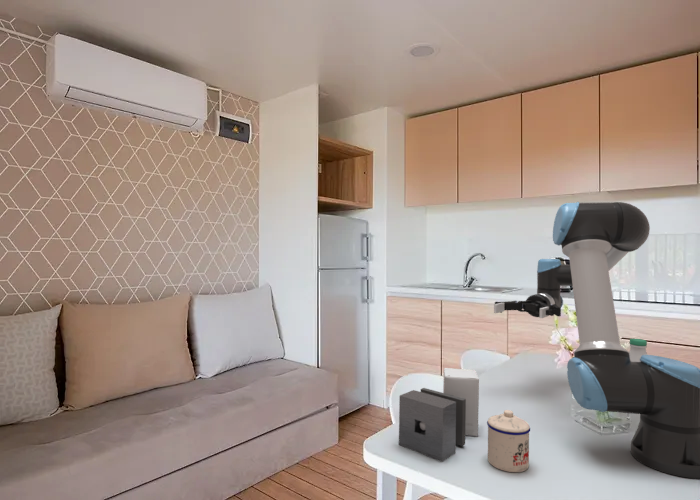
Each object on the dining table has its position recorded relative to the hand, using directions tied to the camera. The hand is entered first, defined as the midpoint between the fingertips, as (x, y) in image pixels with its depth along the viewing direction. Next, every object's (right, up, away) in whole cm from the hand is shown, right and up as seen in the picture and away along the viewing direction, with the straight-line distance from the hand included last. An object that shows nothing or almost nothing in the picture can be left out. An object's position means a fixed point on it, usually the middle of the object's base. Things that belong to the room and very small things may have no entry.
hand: (517, 311), depth 128 cm
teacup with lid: (-14, -30, -32) cm, 46 cm away
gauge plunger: (-31, -29, -23) cm, 48 cm away
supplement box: (-21, -30, -14) cm, 39 cm away
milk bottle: (+43, -31, +9) cm, 53 cm away
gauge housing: (-30, -29, -22) cm, 47 cm away
